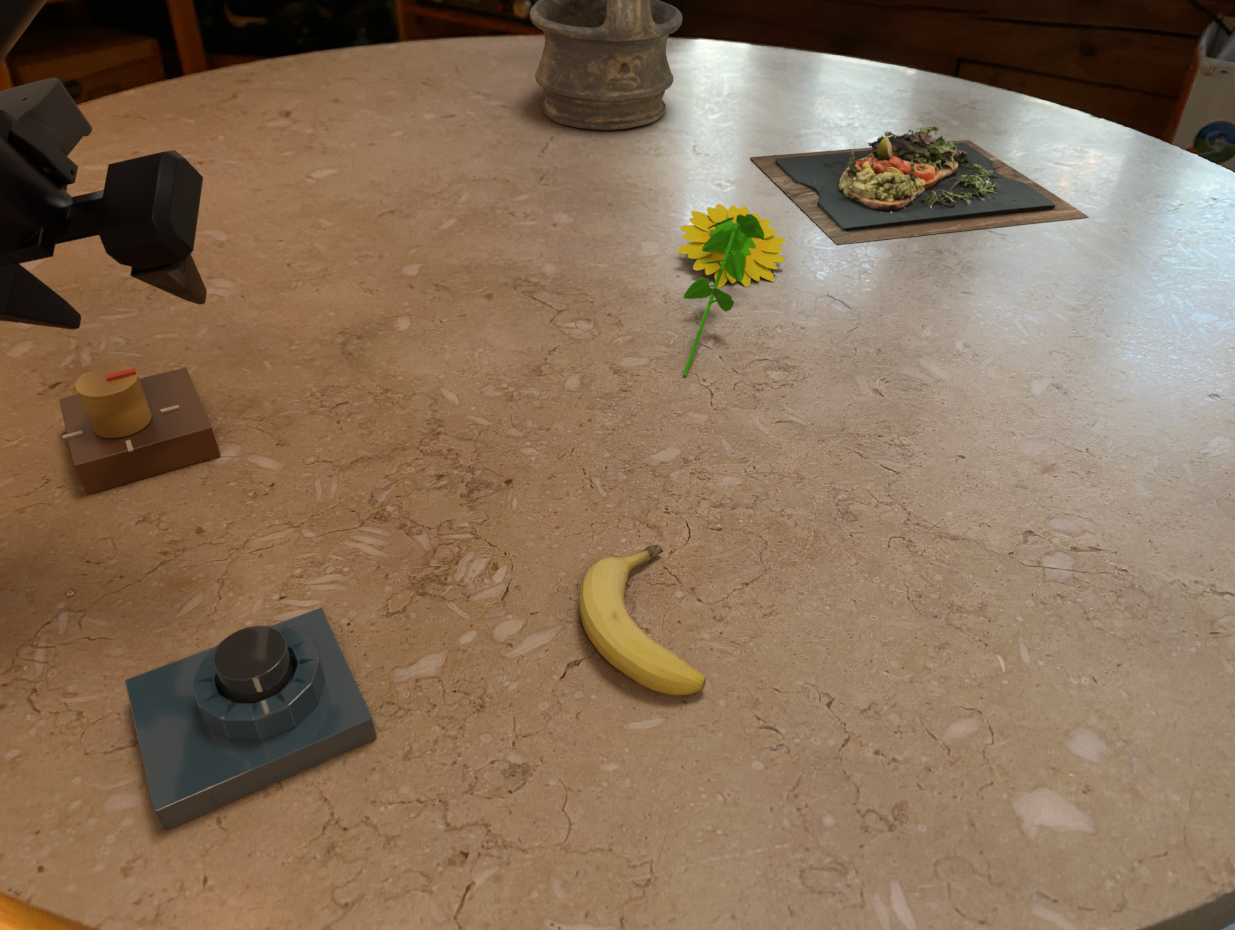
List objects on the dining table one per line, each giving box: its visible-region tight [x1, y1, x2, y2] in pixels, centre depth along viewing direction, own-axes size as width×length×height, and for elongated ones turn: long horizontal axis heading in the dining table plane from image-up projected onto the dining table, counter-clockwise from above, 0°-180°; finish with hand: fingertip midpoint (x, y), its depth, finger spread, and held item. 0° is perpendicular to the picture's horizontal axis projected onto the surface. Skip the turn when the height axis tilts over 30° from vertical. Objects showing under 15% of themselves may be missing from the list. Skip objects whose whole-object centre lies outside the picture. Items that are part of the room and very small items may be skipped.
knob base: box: [124, 607, 378, 831], centre depth 56 cm, size 12×10×4 cm
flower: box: [676, 203, 787, 378], centre depth 96 cm, size 12×9×30 cm
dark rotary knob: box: [213, 625, 293, 703], centre depth 54 cm, size 4×4×2 cm
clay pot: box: [529, 0, 683, 131], centre depth 134 cm, size 22×23×30 cm
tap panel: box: [58, 366, 221, 496], centre depth 76 cm, size 10×10×3 cm
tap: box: [74, 364, 152, 438], centre depth 73 cm, size 4×4×4 cm
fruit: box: [579, 544, 707, 696], centre depth 62 cm, size 7×13×3 cm, turn 14°
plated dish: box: [749, 125, 1089, 245], centre depth 121 cm, size 35×28×7 cm
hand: (140, 310), depth 61 cm, fingers open, 9 cm apart
